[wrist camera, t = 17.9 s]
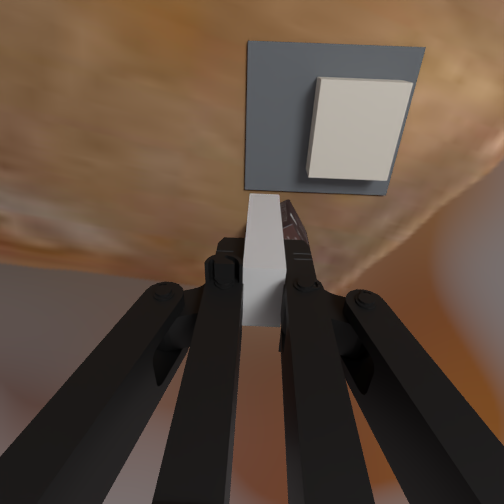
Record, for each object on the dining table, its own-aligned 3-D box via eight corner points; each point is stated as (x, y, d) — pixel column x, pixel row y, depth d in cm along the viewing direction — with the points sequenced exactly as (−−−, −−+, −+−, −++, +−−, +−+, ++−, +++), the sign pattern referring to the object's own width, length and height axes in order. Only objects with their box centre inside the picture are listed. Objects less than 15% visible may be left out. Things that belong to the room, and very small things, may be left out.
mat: (245, 188, 42) (244, 189, 42) (248, 40, 33) (248, 40, 33) (384, 194, 42) (385, 195, 42) (424, 47, 33) (425, 47, 33)
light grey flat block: (308, 177, 37) (387, 180, 37) (321, 79, 32) (413, 82, 32) (305, 168, 40) (378, 171, 40) (317, 76, 35) (401, 80, 35)
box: (307, 233, 45) (314, 263, 39) (269, 250, 47) (269, 281, 41) (288, 197, 43) (292, 223, 36) (248, 216, 44) (246, 244, 38)
